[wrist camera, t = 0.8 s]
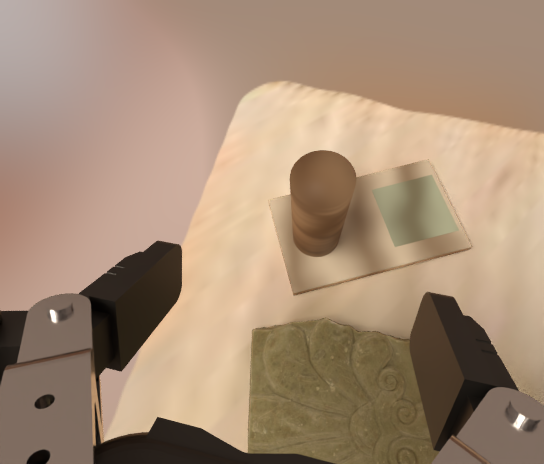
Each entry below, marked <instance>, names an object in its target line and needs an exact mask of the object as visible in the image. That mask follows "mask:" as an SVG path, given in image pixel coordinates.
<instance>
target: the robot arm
mask: <svg viewBox="0 0 544 464" xmlns="http://www.w3.org/2000/svg"><path fill="white" fill-rule="evenodd" d="M181 287H182V249H181V246H180V245H179V244H173V243H168V242H162V241H156V242H155V243H154V244H152V245H151V246H150V247H149V248H148V249H146V250H145V251H144V252H138V253H135V254H133V255H130V256H128V257H125V258H124V259H123V260H121V261H120V262H119V263H118V264H116V265H115V267H113V268H111V269H110V270H109V271H107V273H106V274H103V275H102V276H101V277H100V278H98V279H97V280H96V281H94V282H93V283H92V284H90V285H89V286H88V287H86V288H85V289H84V290H83V291H81V292H80V293H79V294H59V295H55V296H51V297H49V298H46V299H43V300H41V301H39V302H38V303H36V304H35V305H34V306H33V307H31V309H30V310H29V311H0V464H335V463H331V462H327V461H323V460H320V459H316V458H312V457H308V456H304V455H301V454H270V453H244V452H242V451H240V450H238V449H236V448H234V447H233V446H231V445H229V444H227V443H226V442H224V441H222V440H220V439H219V438H217V437H215V436H214V435H212V434H210V433H208V432H207V431H205V430H203V429H201V428H198V427H194V426H190V425H186V424H182V423H178V422H175V421H171V420H167V419H163V418H159V417H157V419H156V421H155V422H154V424H153V426H152V428H151V429H150V431H149V432H142V433H134V434H128V435H124V436H120V437H117V438H114V439H111V440H108V441H105V442H104V435H103V418H102V401H101V400H102V399H101V382H100V374H101V373H102V371H103V370H104V369H105V368H109V369H113V370H117V371H122V370H123V369H124V368H125V366H126V365H127V364H128V362H129V361H130V360H131V359H132V358H133V356H134V355H135V354H136V352H137V351H138V350H139V349H140V347H141V346H142V345H143V344H144V342H145V341H146V340H147V339H148V337H149V336H150V335H151V333H152V332H153V331H154V330H155V328H156V327H157V326H158V325H159V323H160V322H161V321H162V320H163V318H164V317H165V316H166V314H167V313H168V312H169V311H170V309H171V308H172V307H173V306H174V304H175V303H176V302H177V300H178V298H179V295H180V292H181ZM409 347H410V355H411V359H412V363H413V367H414V371H415V375H416V380H417V384H418V388H419V392H420V396H421V400H422V405H423V409H424V413H425V417H426V421H427V425H428V430H429V434H430V438H431V442H432V446H433V450H436V451H440V452H439V454H438V455H437V456H436V458H435V459H434V460H433V462H432V463H431V464H544V406H543V405H542V404H541V403H539V402H538V401H537V400H535V399H533V398H532V397H530V396H528V395H526V394H524V393H522V392H520V391H519V390H518V388H517V387H516V385H515V383H514V381H513V380H512V378H511V376H510V374H509V373H508V371H507V369H506V367H505V366H504V364H503V362H502V360H501V359H500V357H499V356H498V355H497V352H496V350H495V348H494V346H493V345H492V344H491V341H490V339H489V337H488V336H487V334H486V332H485V330H484V329H483V328H482V327H481V326H480V325H479V324H478V323H477V322H475V321H474V320H473V319H472V318H471V317H470V316H465V315H463V314H462V312H461V310H460V308H459V306H458V304H457V302H456V300H455V299H454V297H451V296H446V295H441V294H435V293H430V292H426V293H425V295H424V296H423V299H422V302H421V305H420V308H419V311H418V314H417V317H416V320H415V323H414V326H413V329H412V332H411V336H410V346H409Z"/></svg>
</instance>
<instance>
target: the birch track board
mask: <svg viewBox="0 0 544 464" xmlns="http://www.w3.org/2000/svg"><path fill="white" fill-rule="evenodd" d="M268 202H269V206H270V210H271V214H272V217H273V221H274V225H275V228H276V232H277V236H278V239H279V243H280V247H281V251H282V254H283V258H284V262H285V265H286V269H287V273H288V276H289V280H290V284H291V287H292V291H293V295H297V294H301V293H305V292H308V291H312V290H316V289H320V288H324V287H327V286H331V285H335V284H339V283H343V282H347V281H350V280H354V279H358V278H362V277H366V276H370V275H373V274H377V273H381V272H385V271H389V270H392V269H396V268H400V267H404V266H408V265H412V264H415V263H419V262H423V261H427V260H431V259H435V258H438V257H442V256H446V255H450V254H454V253H458V252H461V251H465V250H468V249H470V248H471V247H472V245H471V243H470V241H469V239H468V237H467V235H466V233H465V231H464V229H463V227H462V225H461V223H460V221H459V219H458V217H457V215H456V213H455V211H454V209H453V207H452V205H451V203H450V201H449V199H448V197H447V195H446V193H445V191H444V189H443V187H442V185H441V183H440V181H439V179H438V177H437V175H436V173H435V171H434V169H433V167H432V165H431V163H430V161H429V159H427V160H424V161H420V162H416V163H412V164H408V165H404V166H400V167H396V168H392V169H388V170H384V171H380V172H376V173H373V174H369V175H365V176H361V177H357V178H356V186H355V189H354V192H353V196H352V199H351V202H350V206H349V209H348V212H347V216H346V219H345V222H344V226H343V229H342V232H341V235H340V239H339V242H338V245H337V246H336V248H335V249H334V250H333V251H332V252H331V253H329V254H328V255H325V256H322V257H311V256H308V255H306V254H304V253H302V252H301V251H300V250H299V249H298V248H297V247H296V245H295V243H294V240H293V229H292V210H291V194H290V195H286V196H282V197H278V198H275V199H271V200H268Z"/></svg>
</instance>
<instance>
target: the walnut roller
mask: <svg viewBox="0 0 544 464" xmlns="http://www.w3.org/2000/svg"><path fill="white" fill-rule="evenodd" d="M355 186H356V173H355V170H354V168H353V166H352V165H351V163H350V162H349V161H348V160H347V159H346V158H345V157H343V156H342V155H340V154H338V153H335V152H332V151H326V150H320V151H314V152H310V153H308V154H306V155H304V156H302V157H301V158H300V159H299V160H298V161H297V162H296V163H295V164H294V166H293V168H292V170H291V174H290V190H291V210H292V229H293V240H294V243H295V245H296V247H297V248H298V249H299V250H300V251H301V252H302V253H304V254H306V255H308V256H311V257H322V256H325V255H328V254H329V253H331V252H332V251H333V250H334V249H335V248H336V246H337V245H338V242H339V239H340V235H341V232H342V229H343V226H344V222H345V219H346V216H347V212H348V209H349V206H350V202H351V199H352V196H353V192H354V189H355Z"/></svg>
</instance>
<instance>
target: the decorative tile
mask: <svg viewBox="0 0 544 464" xmlns="http://www.w3.org/2000/svg"><path fill="white" fill-rule="evenodd" d="M409 346H410V340H409V339H405V340H403V339H399V338H395V337H393V336H386V335H384V334H381V333H380V332H376V331H373V332H369V331H368V332H358V331H357V330H355V329H354V328H353V327H351V326H349V325H341V324H338V323H335V322H333V321H331V320H330V319H327V318H323V319H320V320H316V321H306V322H291V323H288V324H286V325H279V326H272V327H269V328H265V327H263V328H256V329H253V330H252V347H251V370H250V398H249V421H248V453H270V454H301V455H304V456H308V457H312V458H316V459H320V460H323V461H327V462H331V463H335V464H431V463H432V462H433V460H434V459H435V458H436V456H437V455H438V454H439V452H440V451H436V450H433V446H432V442H431V438H430V434H429V430H428V425H427V421H426V417H425V413H424V409H423V405H422V400H421V396H420V392H419V388H418V384H417V380H416V375H415V371H414V367H413V363H412V359H411V355H410V347H409Z"/></svg>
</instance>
